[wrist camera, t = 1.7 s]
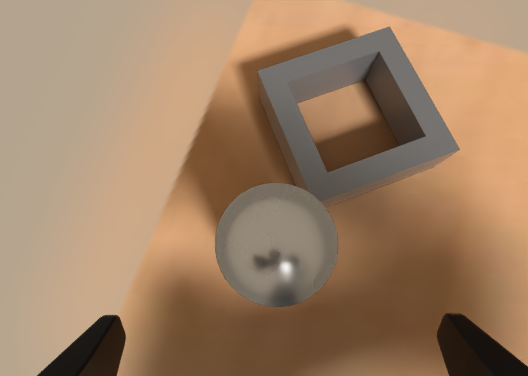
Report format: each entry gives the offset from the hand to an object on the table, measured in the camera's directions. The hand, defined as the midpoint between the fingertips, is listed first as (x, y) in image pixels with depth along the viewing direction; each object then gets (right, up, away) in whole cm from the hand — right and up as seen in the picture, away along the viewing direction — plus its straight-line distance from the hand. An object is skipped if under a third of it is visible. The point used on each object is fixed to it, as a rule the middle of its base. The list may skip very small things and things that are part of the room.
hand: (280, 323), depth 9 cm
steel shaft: (0, -1, +14) cm, 14 cm away
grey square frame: (+6, +8, +16) cm, 19 cm away
